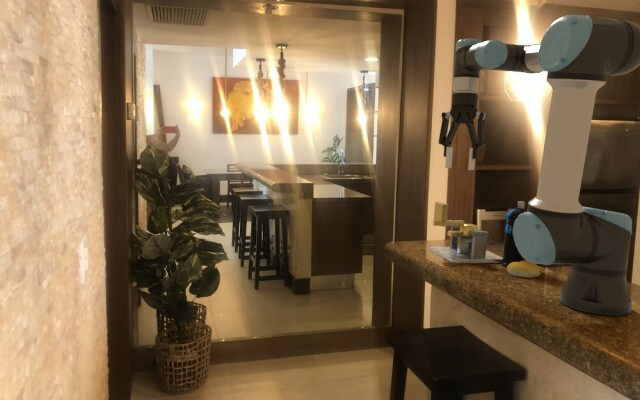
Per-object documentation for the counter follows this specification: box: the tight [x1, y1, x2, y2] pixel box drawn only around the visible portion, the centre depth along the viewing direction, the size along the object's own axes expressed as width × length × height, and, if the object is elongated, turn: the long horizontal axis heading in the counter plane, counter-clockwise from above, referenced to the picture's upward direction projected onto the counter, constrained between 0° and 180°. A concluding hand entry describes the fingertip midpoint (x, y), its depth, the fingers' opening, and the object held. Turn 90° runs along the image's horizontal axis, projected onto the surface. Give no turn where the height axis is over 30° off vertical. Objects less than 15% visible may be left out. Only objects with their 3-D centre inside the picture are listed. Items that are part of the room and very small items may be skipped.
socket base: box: [429, 226, 503, 264], centre depth 174 cm, size 18×18×10 cm
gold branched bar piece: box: [432, 201, 489, 238], centre depth 173 cm, size 6×18×11 cm, turn 101°
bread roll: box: [506, 260, 541, 279], centre depth 154 cm, size 8×9×4 cm
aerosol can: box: [501, 201, 527, 268], centre depth 163 cm, size 8×8×20 cm
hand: (459, 168), depth 164 cm, fingers open, 7 cm apart
